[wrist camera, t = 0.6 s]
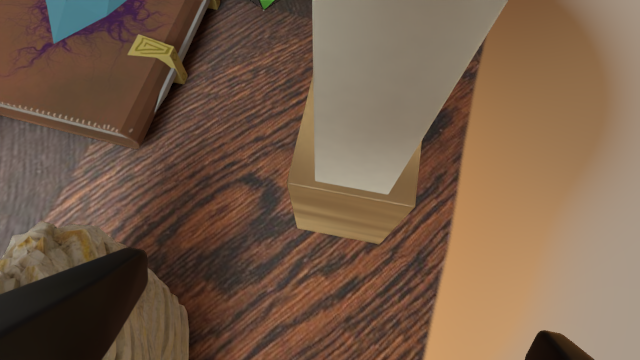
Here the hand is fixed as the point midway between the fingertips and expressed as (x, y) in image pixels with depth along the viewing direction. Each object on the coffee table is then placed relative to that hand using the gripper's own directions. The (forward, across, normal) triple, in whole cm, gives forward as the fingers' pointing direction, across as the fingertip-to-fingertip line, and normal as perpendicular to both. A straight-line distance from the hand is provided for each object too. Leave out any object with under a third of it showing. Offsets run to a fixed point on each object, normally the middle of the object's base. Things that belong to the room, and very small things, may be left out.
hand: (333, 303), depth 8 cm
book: (+23, +20, -5) cm, 31 cm away
